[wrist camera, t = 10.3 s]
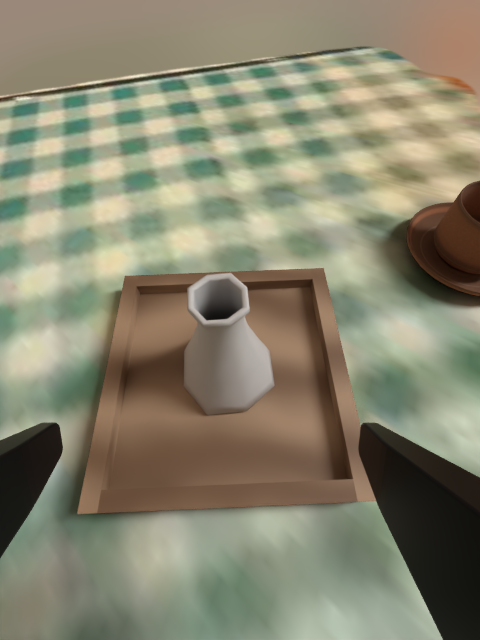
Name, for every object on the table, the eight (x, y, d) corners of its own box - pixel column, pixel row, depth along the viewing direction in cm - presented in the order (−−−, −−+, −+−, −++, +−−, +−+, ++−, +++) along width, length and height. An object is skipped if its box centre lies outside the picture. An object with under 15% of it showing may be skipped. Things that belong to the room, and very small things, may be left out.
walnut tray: (365, 500, 19) (377, 500, 18) (92, 511, 19) (77, 514, 18) (318, 281, 28) (323, 268, 27) (132, 289, 28) (125, 275, 27)
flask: (171, 347, 24) (129, 268, 16) (250, 317, 26) (253, 228, 17) (200, 432, 21) (167, 392, 12) (290, 392, 22) (319, 330, 14)
